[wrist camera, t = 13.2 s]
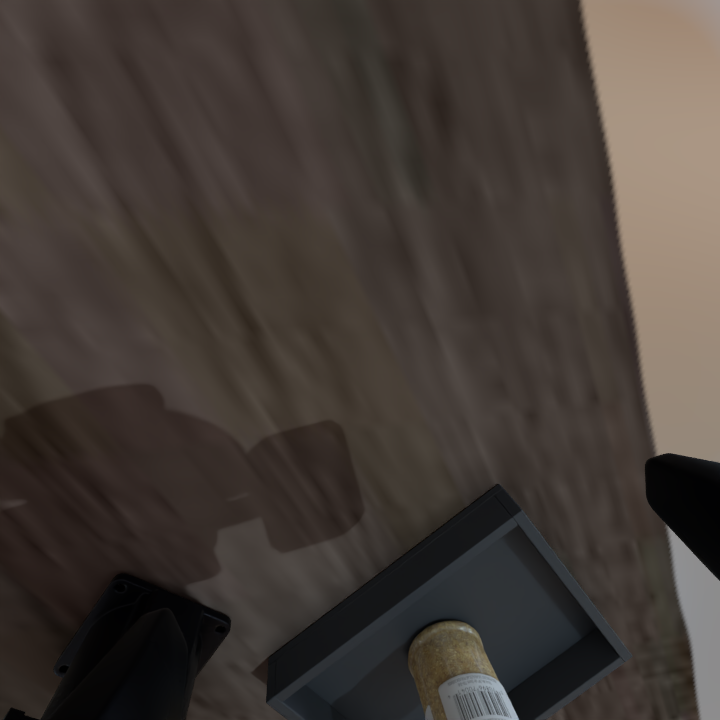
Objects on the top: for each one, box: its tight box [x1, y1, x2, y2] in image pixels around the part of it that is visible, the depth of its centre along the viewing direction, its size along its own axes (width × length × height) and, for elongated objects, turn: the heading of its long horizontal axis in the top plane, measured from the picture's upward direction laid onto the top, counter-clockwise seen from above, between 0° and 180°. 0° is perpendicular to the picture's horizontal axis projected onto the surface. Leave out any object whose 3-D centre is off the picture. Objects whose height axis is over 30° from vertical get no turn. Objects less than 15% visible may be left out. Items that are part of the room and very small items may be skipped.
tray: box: [266, 484, 632, 720], centre depth 24 cm, size 16×13×2 cm
